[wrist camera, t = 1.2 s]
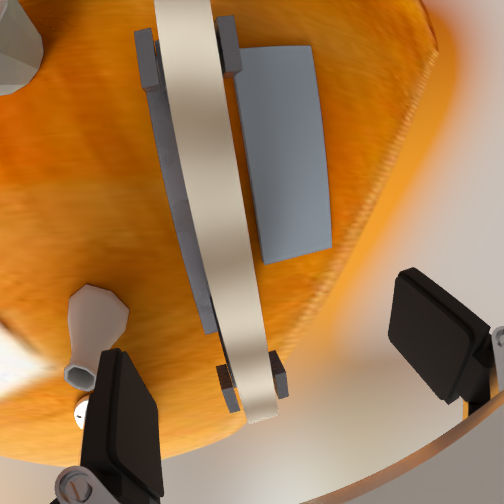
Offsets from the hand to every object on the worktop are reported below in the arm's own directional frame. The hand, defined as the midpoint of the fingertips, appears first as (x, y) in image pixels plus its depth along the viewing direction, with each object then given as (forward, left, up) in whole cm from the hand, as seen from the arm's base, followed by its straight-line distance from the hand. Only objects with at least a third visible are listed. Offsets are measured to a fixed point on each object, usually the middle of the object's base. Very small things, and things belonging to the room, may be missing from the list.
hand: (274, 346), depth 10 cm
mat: (+3, -8, -21) cm, 22 cm away
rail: (0, 0, -10) cm, 10 cm away
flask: (-9, +14, -21) cm, 27 cm away
